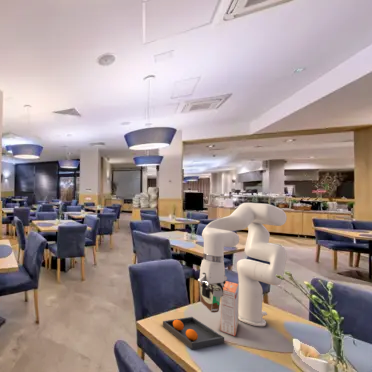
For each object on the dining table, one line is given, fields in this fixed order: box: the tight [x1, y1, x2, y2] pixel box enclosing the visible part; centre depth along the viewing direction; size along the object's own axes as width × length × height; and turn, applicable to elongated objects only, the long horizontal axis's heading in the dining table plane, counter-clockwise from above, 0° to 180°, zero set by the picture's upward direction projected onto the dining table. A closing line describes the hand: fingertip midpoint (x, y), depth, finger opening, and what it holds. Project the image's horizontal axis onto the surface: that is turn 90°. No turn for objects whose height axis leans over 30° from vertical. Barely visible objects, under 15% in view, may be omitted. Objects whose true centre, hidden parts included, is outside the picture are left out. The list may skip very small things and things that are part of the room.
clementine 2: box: [186, 329, 198, 341], centre depth 104 cm, size 5×5×5 cm
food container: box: [198, 280, 223, 314], centre depth 107 cm, size 12×6×10 cm, turn 171°
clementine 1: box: [173, 319, 184, 331], centre depth 112 cm, size 5×5×5 cm
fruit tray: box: [162, 316, 225, 350], centre depth 109 cm, size 18×17×3 cm
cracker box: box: [220, 280, 239, 337], centre depth 115 cm, size 14×6×21 cm, turn 134°
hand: (212, 295), depth 107 cm, fingers closed on food container, 7 cm apart
